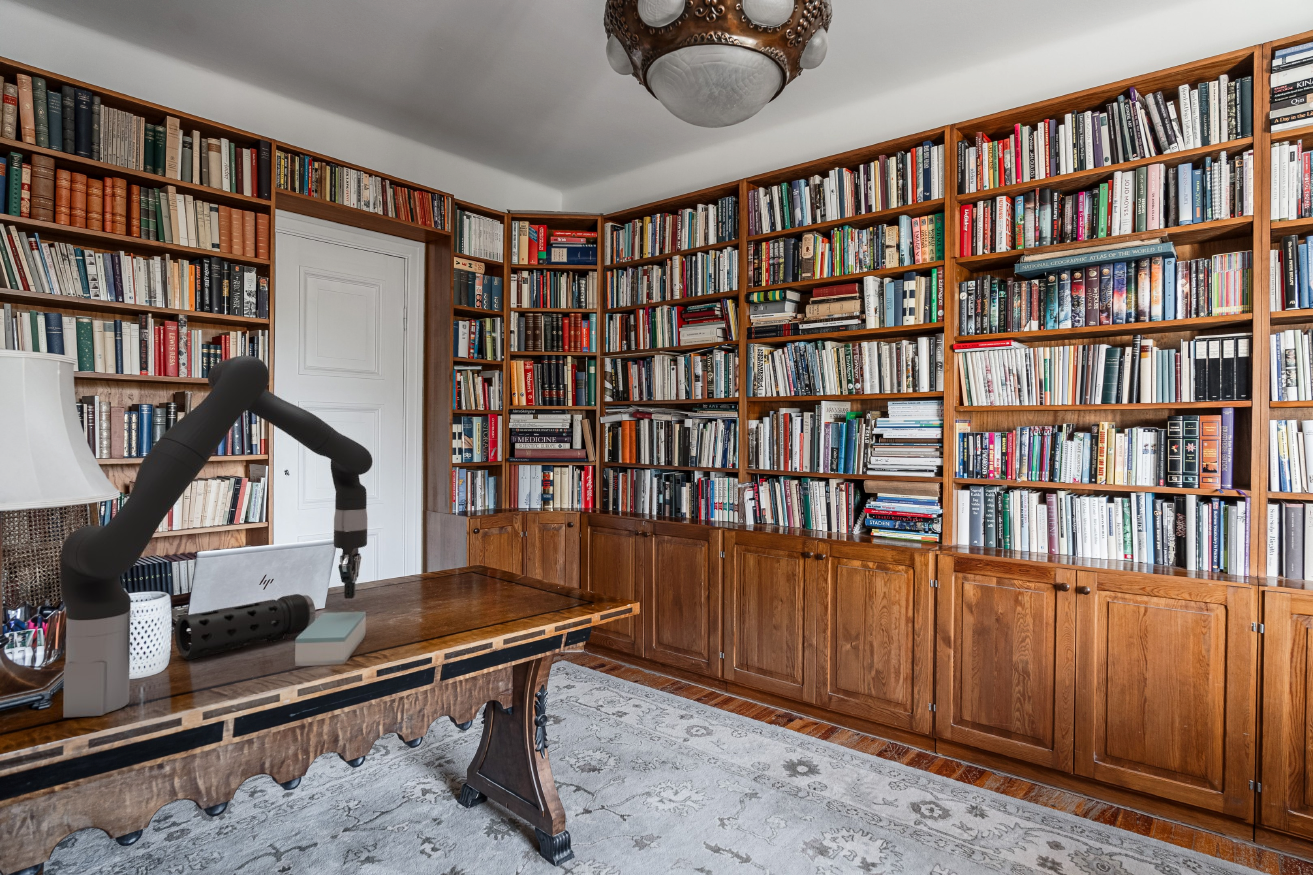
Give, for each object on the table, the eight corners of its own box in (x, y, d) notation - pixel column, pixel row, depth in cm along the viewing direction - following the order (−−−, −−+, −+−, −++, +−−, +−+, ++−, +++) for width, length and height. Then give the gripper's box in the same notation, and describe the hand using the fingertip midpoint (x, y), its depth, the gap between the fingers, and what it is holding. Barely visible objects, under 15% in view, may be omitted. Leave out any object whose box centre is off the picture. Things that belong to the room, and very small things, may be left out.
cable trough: (344, 664, 154) (344, 641, 154) (295, 666, 153) (295, 643, 153) (365, 635, 176) (365, 615, 176) (322, 637, 174) (323, 616, 174)
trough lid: (344, 641, 154) (344, 637, 154) (295, 643, 153) (295, 638, 152) (365, 615, 176) (365, 611, 176) (323, 616, 174) (323, 612, 174)
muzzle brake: (173, 657, 158) (174, 611, 157) (297, 629, 180) (297, 589, 180) (192, 665, 152) (192, 618, 152) (317, 636, 175) (317, 595, 175)
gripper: (341, 523, 177) (340, 592, 177) (327, 531, 164) (326, 605, 164) (372, 523, 179) (371, 591, 179) (361, 531, 166) (360, 604, 166)
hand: (349, 597), depth 172 cm, fingers closed
